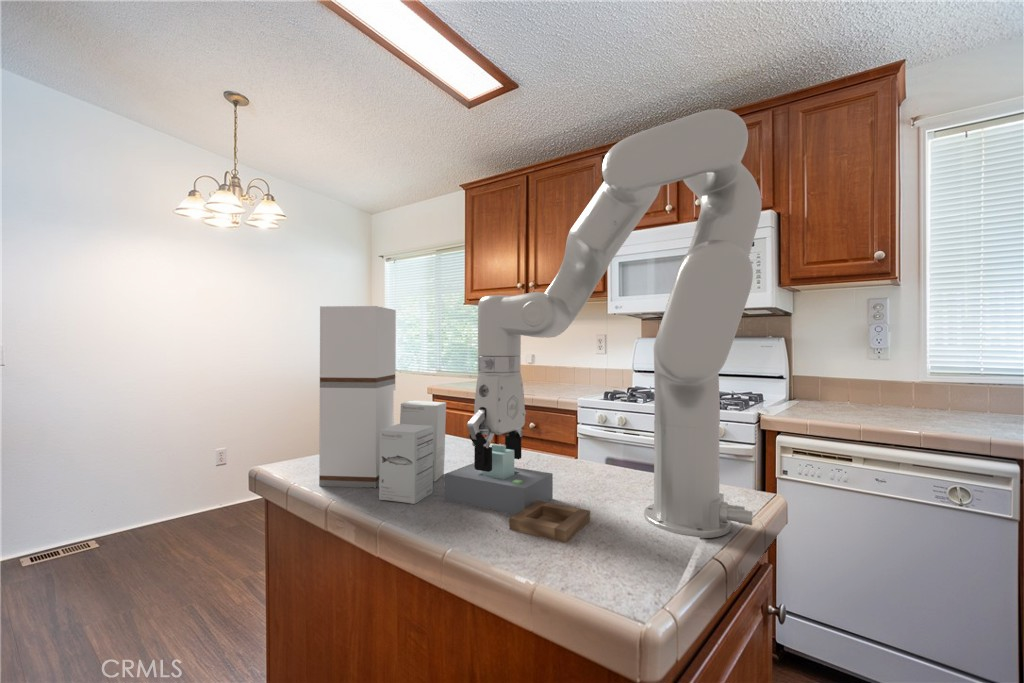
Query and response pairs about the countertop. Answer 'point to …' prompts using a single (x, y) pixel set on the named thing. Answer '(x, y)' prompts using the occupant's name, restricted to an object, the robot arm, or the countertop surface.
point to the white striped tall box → (355, 392)
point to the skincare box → (429, 416)
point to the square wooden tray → (550, 521)
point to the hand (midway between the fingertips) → (498, 463)
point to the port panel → (498, 489)
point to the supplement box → (406, 463)
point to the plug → (501, 462)
